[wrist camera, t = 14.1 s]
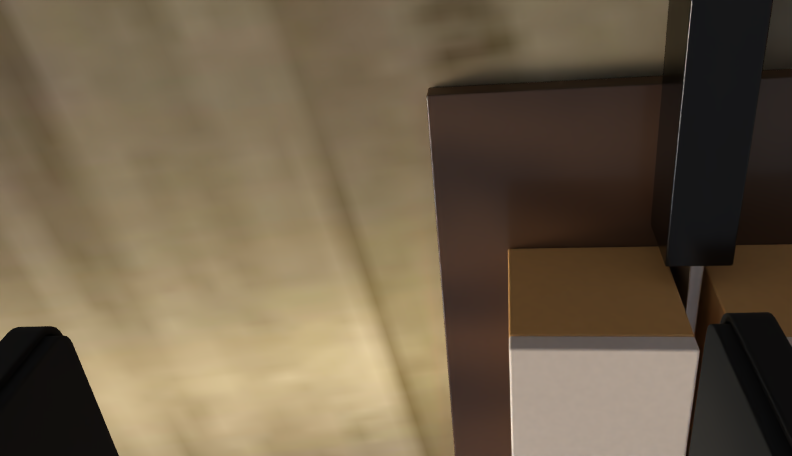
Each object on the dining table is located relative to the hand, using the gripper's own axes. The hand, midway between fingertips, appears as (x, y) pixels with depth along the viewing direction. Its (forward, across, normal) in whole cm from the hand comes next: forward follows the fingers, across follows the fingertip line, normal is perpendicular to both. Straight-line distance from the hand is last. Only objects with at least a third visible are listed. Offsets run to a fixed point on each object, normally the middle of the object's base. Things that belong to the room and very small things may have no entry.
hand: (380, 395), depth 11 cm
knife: (+19, -9, +10) cm, 23 cm away
